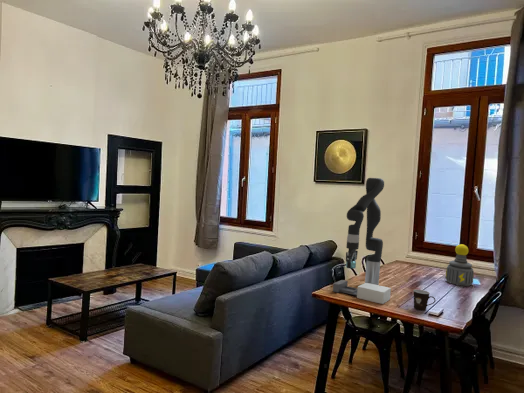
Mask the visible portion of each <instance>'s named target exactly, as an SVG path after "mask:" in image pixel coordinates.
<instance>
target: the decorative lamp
mask: <svg viewBox="0 0 524 393" xmlns="http://www.w3.org/2000/svg"><path fill="white" fill-rule="evenodd" d="M454 251H455V253H456V254H455V255H456V256H455V258H454V260H450V261H449V263H448V264H447V266H446V270H445V280H446V282H447V283H449V284H451V283H452V285H455V284H456V286H460V285H462V287H463V286H464V287H470V285H471V286H472V284H473V283H474V277H475V276H474V274H475V272H474V268H473V265H472V263H471V262H468V260H467V259H468V258H467V255H468V253H469V248H468V246H467V245H465V244H462V243H461V244H457V245H456V246H455V249H454Z"/></svg>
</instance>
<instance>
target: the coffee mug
mask: <svg viewBox="0 0 524 393" xmlns="http://www.w3.org/2000/svg"><path fill="white" fill-rule="evenodd" d="M430 298H432V299H433V300H434V301H433V302H432V303H429V299H430ZM428 303H429V304H428ZM435 303H436V298H435V297H434V296H433V295H432V296H430V292H429V291H427V290H425V289H424V290H423V289H413V308H414V309H415V310H417V311H422V312H423V311H426V310H427V307H428V306H430V305H433V304H435Z"/></svg>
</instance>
